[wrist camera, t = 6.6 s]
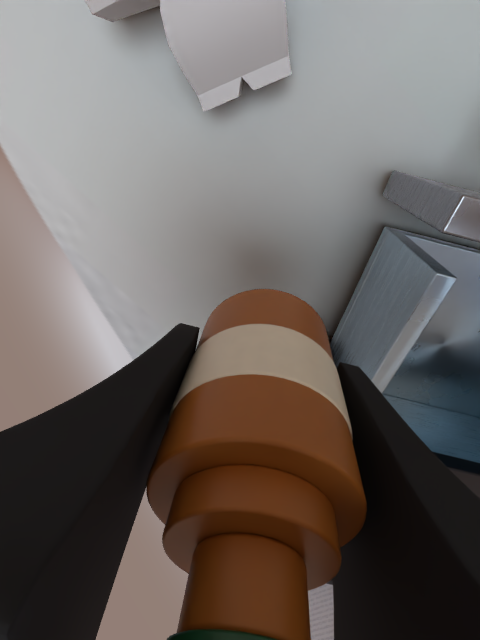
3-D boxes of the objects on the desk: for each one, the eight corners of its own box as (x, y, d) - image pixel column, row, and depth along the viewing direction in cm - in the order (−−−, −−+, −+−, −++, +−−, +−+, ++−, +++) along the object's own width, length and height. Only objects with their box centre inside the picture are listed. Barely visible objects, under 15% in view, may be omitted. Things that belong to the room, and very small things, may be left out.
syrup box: (289, 516, 34) (295, 737, 21) (330, 496, 31) (363, 735, 19) (327, 536, 35) (353, 755, 23) (369, 519, 32) (424, 757, 20)
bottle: (290, 261, 9) (329, 686, 2) (349, 364, 11) (477, 787, 4) (177, 322, 11) (-14, 683, 4) (244, 403, 13) (200, 756, 6)
